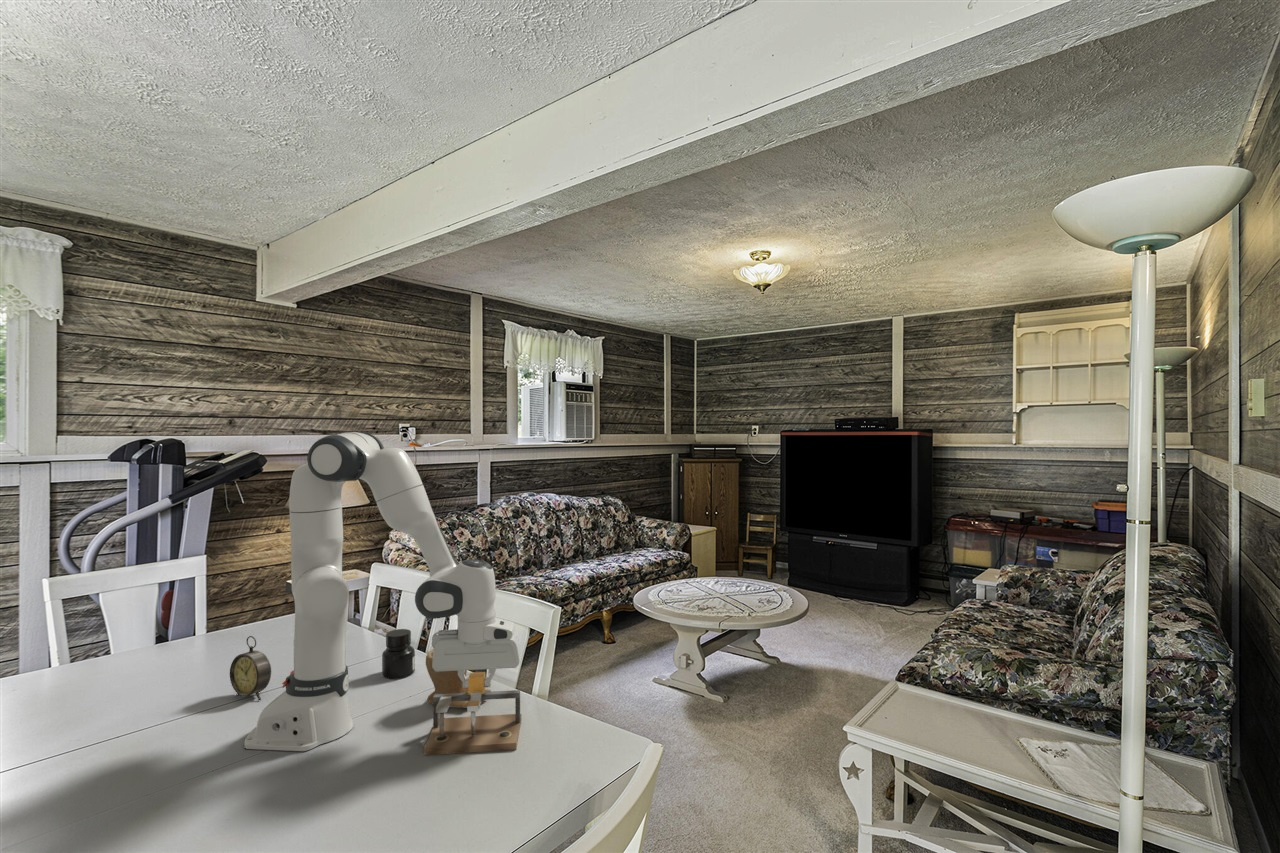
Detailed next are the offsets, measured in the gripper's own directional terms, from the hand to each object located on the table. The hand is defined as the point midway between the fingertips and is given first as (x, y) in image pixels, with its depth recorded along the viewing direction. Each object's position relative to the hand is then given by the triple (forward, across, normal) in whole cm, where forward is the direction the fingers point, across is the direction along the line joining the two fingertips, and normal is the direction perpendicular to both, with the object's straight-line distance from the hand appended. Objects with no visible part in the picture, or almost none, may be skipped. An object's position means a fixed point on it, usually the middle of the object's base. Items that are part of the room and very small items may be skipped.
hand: (477, 686), depth 146 cm
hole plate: (+10, 0, -3) cm, 11 cm away
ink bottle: (+11, -28, +37) cm, 48 cm away
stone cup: (+11, -8, +15) cm, 20 cm away
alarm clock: (+11, -63, +26) cm, 69 cm away
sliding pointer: (+8, 0, -3) cm, 9 cm away
